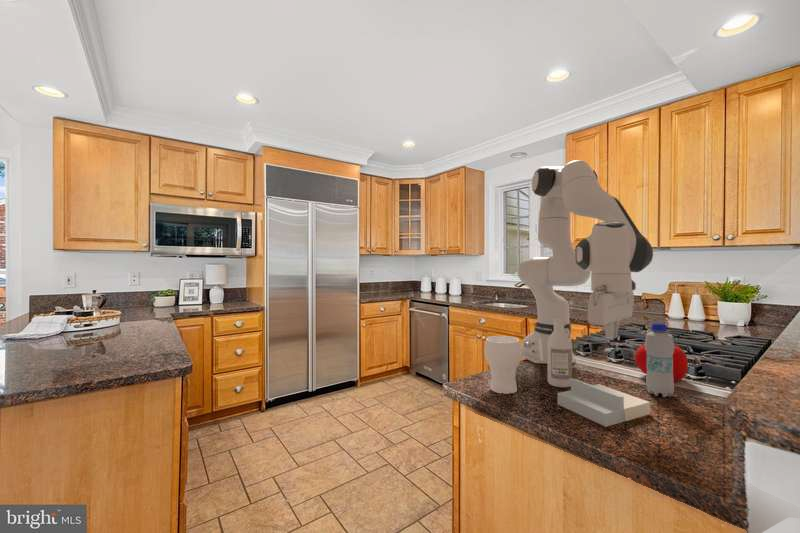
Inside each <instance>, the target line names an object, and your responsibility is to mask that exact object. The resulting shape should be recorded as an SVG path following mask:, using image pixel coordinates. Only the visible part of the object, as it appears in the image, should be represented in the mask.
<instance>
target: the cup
mask: <svg viewBox="0 0 800 533" xmlns="http://www.w3.org/2000/svg"><path fill="white" fill-rule="evenodd" d="M484 357H485V359H486V360H485V361H486V362H487V364H488V366H489V369H490V374H491V378H490V385H489V386H490V387H489V389H490V390H491V391H492V392H494V393H497V394H502V393H503V394H502V395H504V394H505V395H507V394H509V395H510V393H511V394H515V393H516V392H517V391H518V388H517V381H516V374H517V369H518V367H519V365H520V363H521V359H522V344H521V342H520V339H519V338H518V337H515V336H507V335H492V336H488V337H486V339H485V344H484Z"/></svg>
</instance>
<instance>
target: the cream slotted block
mask: <svg viewBox="0 0 800 533" xmlns="http://www.w3.org/2000/svg"><path fill="white" fill-rule="evenodd" d="M593 385H594V386H596V387H599V388H602V389H605V390H607V391H610V392H613V393H616V394H618V395H621V396H624V422H628V421H631V420H635V419H638V418H642V417H645V416H649V415H651V401H648V400H647V399H646V400H645V399H642V398H639V397H638V396H637V397H636V396H634V395H630V394H628V393H626V392H622V391H620V390H617V389H614V388H610V387H608V386H605V385H603V384H600V383H599V384H598V383H597V384H593Z"/></svg>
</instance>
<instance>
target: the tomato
mask: <svg viewBox="0 0 800 533" xmlns="http://www.w3.org/2000/svg"><path fill="white" fill-rule="evenodd" d="M634 362H635V364H636V366H637V367H638V368H639V370H641V372H643V373H644V374H645V375H647V352H646V350H645V343H644V344H643V345H641V346H639V347H638V348H637V350H636V351H635V353H634ZM688 362H689V361H688V358H687V355H686V354H685V352H684V351H683V349H682V348H681V347H680V346H678V345H676V344H674V353H673V380H674V382H677V381H680V380H682V379H684V377H685V376H686V374H687V372H688V365H689V364H688Z"/></svg>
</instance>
